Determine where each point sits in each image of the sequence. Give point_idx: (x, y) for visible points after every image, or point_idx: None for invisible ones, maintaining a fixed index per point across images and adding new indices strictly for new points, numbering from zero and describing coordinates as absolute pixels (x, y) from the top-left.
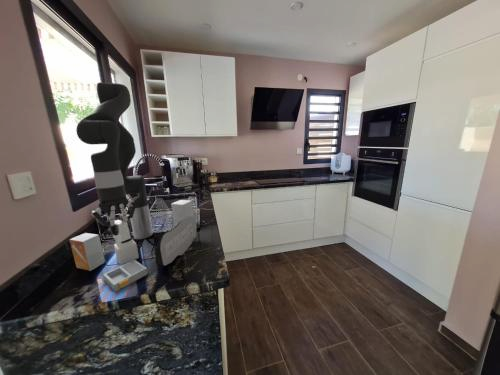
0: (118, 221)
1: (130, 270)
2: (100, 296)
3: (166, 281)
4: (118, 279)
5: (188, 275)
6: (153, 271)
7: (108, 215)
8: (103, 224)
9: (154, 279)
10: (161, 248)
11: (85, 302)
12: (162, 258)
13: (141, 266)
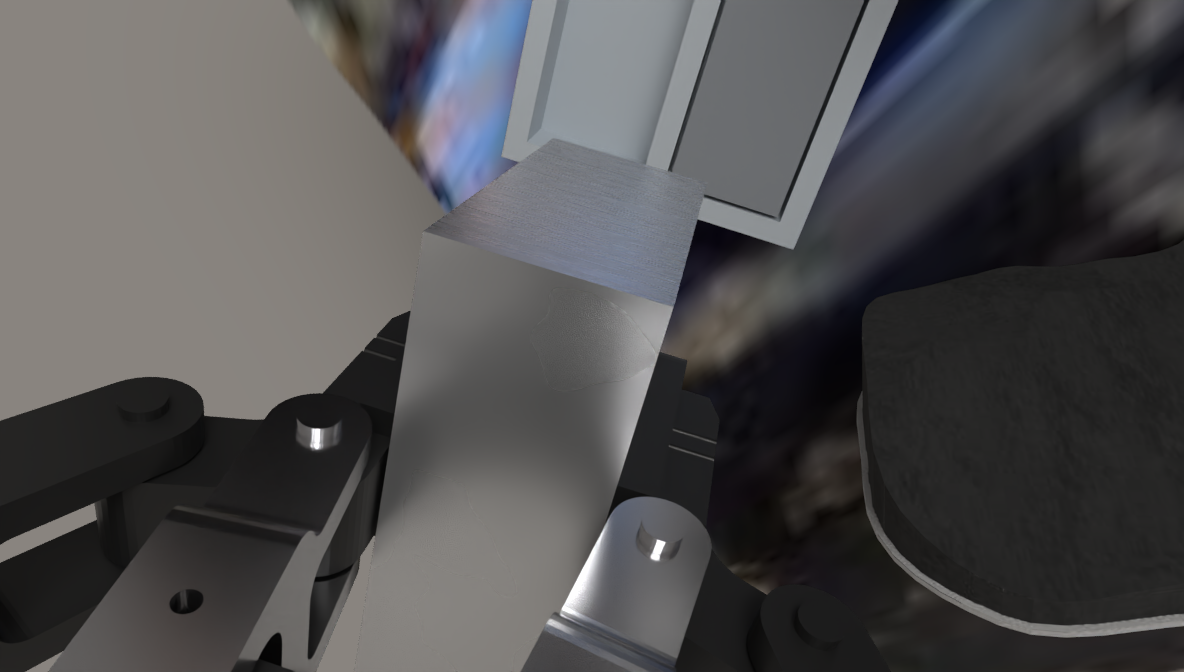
0: (525, 495)
1: (714, 110)
2: (440, 61)
3: (744, 437)
4: (627, 24)
5: (848, 546)
6: (840, 246)
7: (180, 611)
8: (98, 551)
9: (740, 335)
10: (881, 520)
11: (352, 5)
12: (859, 443)
13: (803, 172)
